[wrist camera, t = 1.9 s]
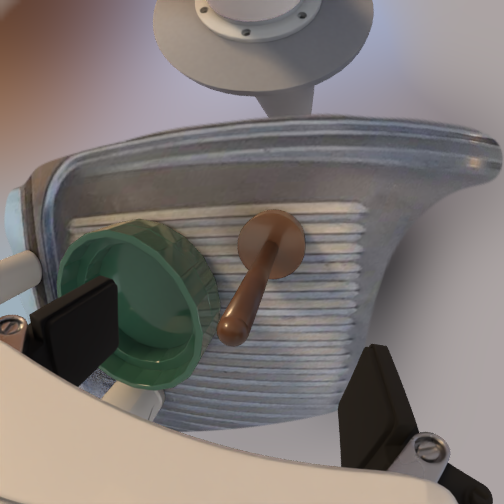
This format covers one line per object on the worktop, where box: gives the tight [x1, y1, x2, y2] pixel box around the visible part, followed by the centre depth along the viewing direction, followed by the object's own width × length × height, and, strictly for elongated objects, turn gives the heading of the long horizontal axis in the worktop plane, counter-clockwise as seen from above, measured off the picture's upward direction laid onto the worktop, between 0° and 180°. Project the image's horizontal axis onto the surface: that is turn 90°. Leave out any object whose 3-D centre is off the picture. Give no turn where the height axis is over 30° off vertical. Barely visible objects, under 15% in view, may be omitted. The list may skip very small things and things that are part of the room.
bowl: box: [57, 219, 221, 391], centre depth 26 cm, size 15×15×6 cm
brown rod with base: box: [217, 210, 305, 346], centre depth 17 cm, size 5×5×16 cm
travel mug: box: [102, 381, 165, 422], centre depth 23 cm, size 6×7×20 cm
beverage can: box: [0, 251, 42, 304], centre depth 25 cm, size 5×5×12 cm
